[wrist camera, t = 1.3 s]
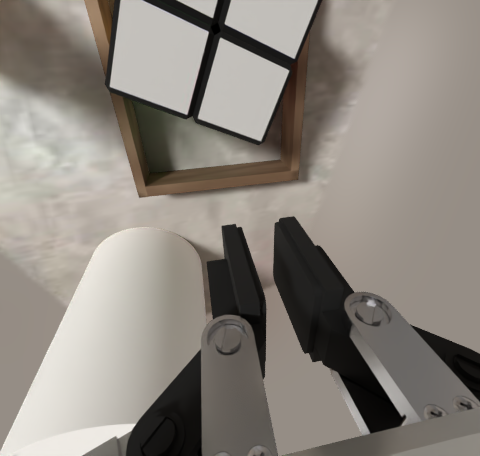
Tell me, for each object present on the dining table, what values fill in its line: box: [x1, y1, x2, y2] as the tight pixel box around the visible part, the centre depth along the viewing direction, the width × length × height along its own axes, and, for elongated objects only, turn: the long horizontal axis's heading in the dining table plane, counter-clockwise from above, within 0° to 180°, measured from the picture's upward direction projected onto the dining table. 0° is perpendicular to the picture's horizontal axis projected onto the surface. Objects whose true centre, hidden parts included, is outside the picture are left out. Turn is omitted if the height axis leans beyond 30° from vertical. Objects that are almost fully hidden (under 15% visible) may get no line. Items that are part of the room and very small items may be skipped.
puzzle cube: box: [105, 0, 322, 145], centre depth 18 cm, size 10×10×10 cm
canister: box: [0, 227, 207, 456], centre depth 26 cm, size 14×14×20 cm
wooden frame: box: [84, 0, 310, 198], centre depth 22 cm, size 19×16×4 cm
